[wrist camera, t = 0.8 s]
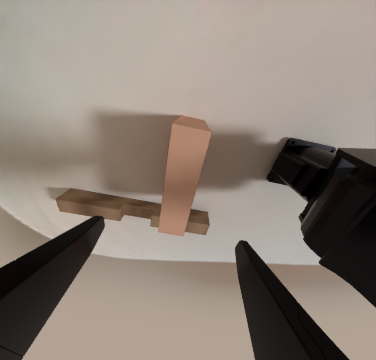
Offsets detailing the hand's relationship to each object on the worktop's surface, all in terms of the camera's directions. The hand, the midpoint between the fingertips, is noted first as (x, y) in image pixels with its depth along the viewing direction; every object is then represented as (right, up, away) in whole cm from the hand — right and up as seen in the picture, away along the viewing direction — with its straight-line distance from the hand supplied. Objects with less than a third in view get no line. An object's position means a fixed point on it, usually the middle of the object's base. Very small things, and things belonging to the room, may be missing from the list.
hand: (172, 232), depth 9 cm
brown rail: (-7, -1, +15) cm, 17 cm away
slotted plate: (0, +6, +11) cm, 13 cm away
